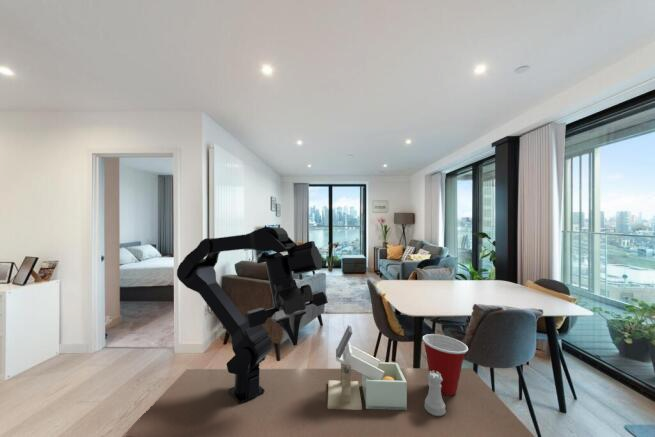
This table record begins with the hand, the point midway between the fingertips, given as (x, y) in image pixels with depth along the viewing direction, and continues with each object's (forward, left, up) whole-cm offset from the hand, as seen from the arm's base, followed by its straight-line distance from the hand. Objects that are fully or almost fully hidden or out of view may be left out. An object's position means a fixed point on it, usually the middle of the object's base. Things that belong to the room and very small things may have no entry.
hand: (294, 345), depth 62 cm
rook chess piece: (+23, +22, -13) cm, 34 cm away
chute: (+8, +13, -6) cm, 16 cm away
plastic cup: (+21, +32, -13) cm, 41 cm away
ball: (+13, +18, -10) cm, 25 cm away
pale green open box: (+12, +17, -13) cm, 25 cm away
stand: (+6, +11, -13) cm, 18 cm away
